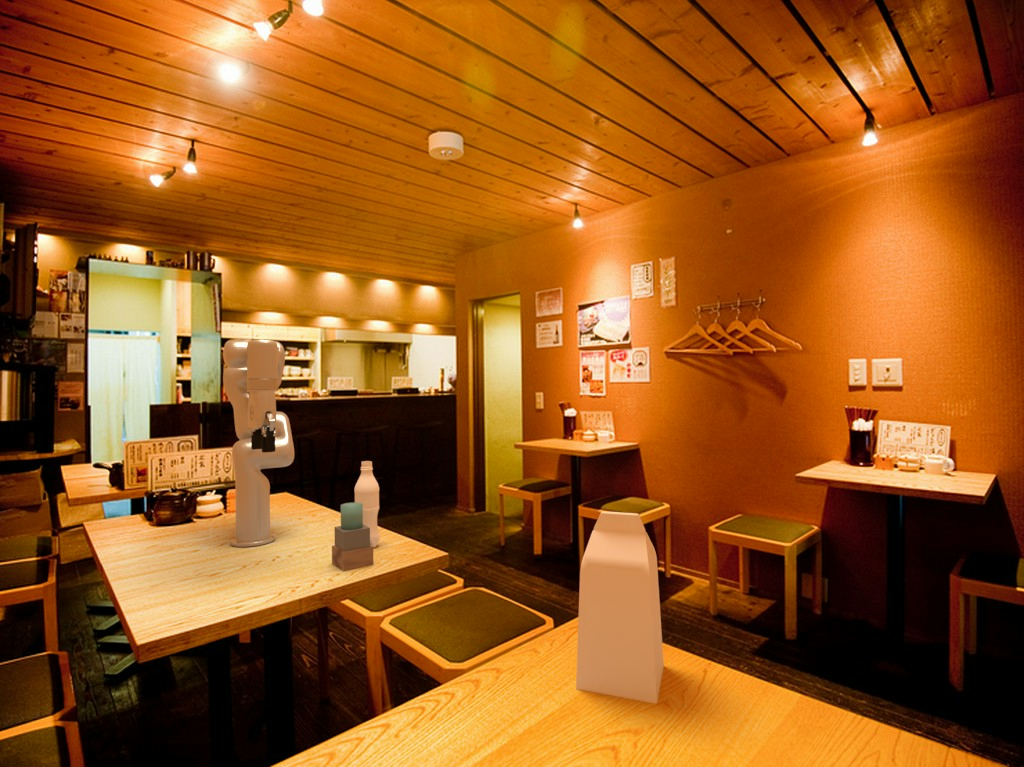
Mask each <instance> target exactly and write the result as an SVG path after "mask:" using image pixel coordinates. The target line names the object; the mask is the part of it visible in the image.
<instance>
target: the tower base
mask: <svg viewBox="0 0 1024 767" xmlns="http://www.w3.org/2000/svg"><path fill="white" fill-rule="evenodd" d="M331 564H332V565H333V566H335V567H336V568H338V569H339V570H341V571H343V572H347V571H353V570H356V569H361V568H365V567H369V566H370V567H371V566H373V565H374V548H373V546H371V545H370V547H367V548H361V549H356V550H351V551H346V552H343V551H342V550H340V549H339V548H337V547H336V546H335V544H334V545H331Z"/></svg>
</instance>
